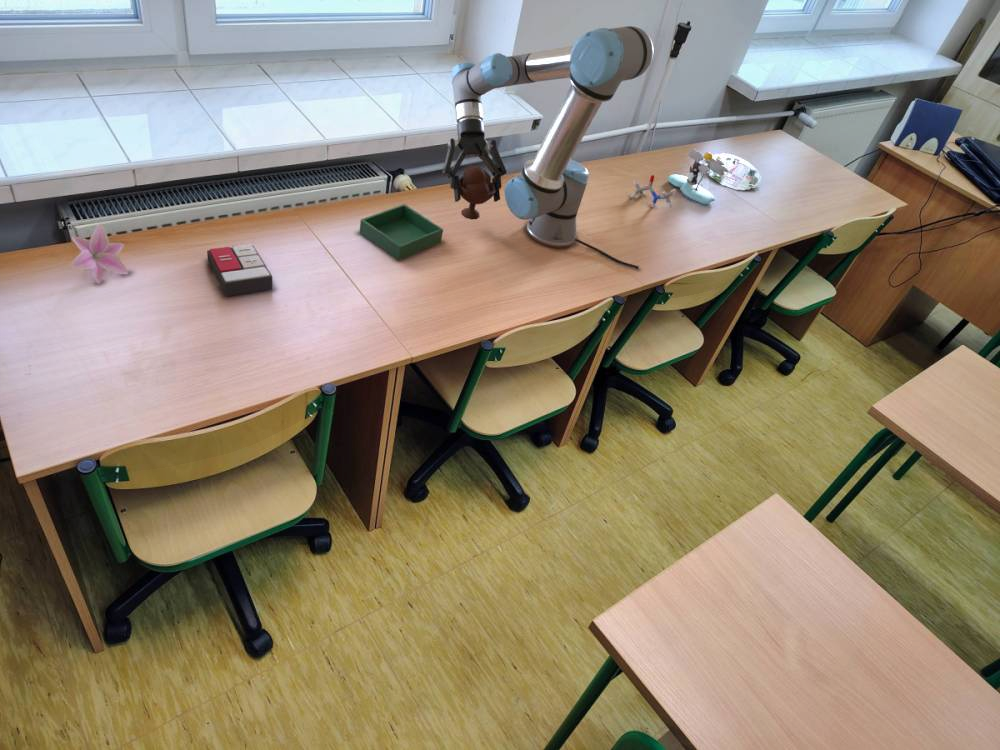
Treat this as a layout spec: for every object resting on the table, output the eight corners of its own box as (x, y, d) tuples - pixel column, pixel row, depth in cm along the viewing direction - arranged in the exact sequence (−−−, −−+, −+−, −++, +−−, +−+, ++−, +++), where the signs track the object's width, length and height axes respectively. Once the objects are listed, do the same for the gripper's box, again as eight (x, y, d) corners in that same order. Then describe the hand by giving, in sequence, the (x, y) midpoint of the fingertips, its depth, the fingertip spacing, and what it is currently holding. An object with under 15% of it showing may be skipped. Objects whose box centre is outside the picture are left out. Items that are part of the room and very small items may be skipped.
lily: (64, 289, 155) (75, 265, 149) (58, 243, 158) (68, 219, 152) (124, 293, 163) (136, 271, 157) (116, 249, 167) (128, 226, 161)
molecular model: (674, 215, 241) (686, 187, 236) (661, 216, 235) (673, 187, 230) (634, 195, 250) (644, 167, 245) (620, 194, 244) (631, 166, 239)
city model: (697, 184, 269) (704, 170, 264) (697, 152, 284) (703, 139, 280) (760, 202, 269) (768, 189, 265) (756, 170, 285) (764, 156, 280)
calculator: (253, 241, 174) (272, 274, 165) (253, 256, 177) (273, 289, 168) (206, 247, 168) (223, 281, 159) (207, 262, 171) (225, 297, 162)
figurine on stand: (661, 179, 260) (677, 140, 250) (682, 177, 265) (698, 139, 256) (697, 207, 249) (714, 168, 239) (718, 205, 254) (736, 166, 244)
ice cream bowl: (485, 228, 200) (496, 180, 190) (447, 217, 200) (456, 168, 190) (492, 211, 208) (503, 164, 198) (456, 200, 208) (465, 153, 198)
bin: (441, 242, 198) (443, 229, 195) (398, 260, 187) (400, 246, 185) (402, 216, 204) (404, 203, 201) (359, 233, 193) (360, 219, 190)
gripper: (503, 128, 206) (510, 203, 206) (425, 125, 197) (433, 203, 197) (513, 119, 199) (521, 197, 199) (434, 115, 190) (442, 196, 190)
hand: (477, 200), depth 198 cm, fingers closed on ice cream bowl, 11 cm apart
